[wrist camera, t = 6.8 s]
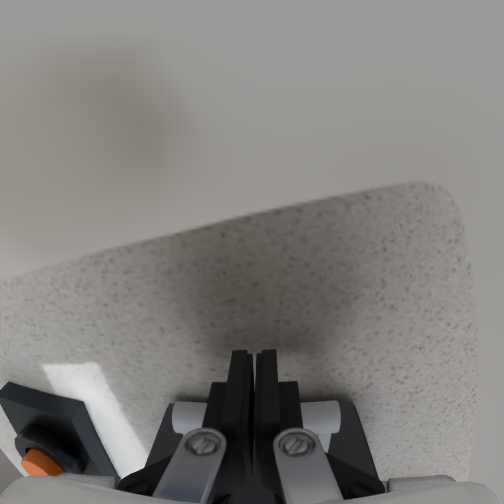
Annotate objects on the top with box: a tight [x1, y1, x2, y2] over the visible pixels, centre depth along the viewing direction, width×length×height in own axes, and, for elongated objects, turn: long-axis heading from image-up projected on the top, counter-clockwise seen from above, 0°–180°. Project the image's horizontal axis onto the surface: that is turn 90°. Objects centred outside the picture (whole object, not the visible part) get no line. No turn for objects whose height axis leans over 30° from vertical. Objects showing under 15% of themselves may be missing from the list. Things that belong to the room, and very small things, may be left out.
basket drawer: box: [146, 400, 375, 504], centre depth 15 cm, size 18×11×8 cm, turn 2°
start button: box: [21, 448, 64, 477], centre depth 17 cm, size 4×4×2 cm
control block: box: [0, 382, 119, 479], centre depth 19 cm, size 11×9×4 cm
